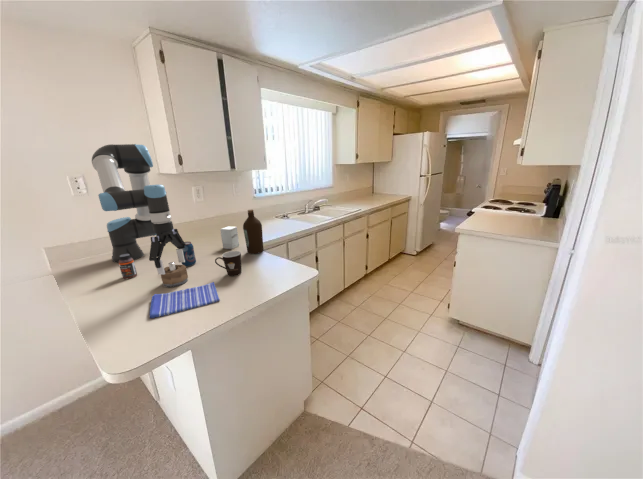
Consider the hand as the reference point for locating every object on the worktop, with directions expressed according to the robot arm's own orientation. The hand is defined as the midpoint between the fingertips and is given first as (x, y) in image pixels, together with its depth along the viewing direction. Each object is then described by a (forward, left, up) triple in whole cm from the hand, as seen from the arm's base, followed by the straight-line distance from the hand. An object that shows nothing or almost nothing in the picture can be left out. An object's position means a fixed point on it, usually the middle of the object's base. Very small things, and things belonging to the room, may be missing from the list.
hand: (172, 267), depth 119 cm
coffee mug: (+22, +11, -7) cm, 26 cm away
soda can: (-7, +21, -7) cm, 23 cm away
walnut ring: (0, 0, -6) cm, 6 cm away
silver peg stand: (0, 0, -7) cm, 7 cm away
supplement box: (+3, +50, -8) cm, 51 cm away
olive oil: (+22, +42, -7) cm, 48 cm away
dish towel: (+15, -15, -8) cm, 23 cm away
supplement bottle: (-28, +5, -7) cm, 29 cm away
